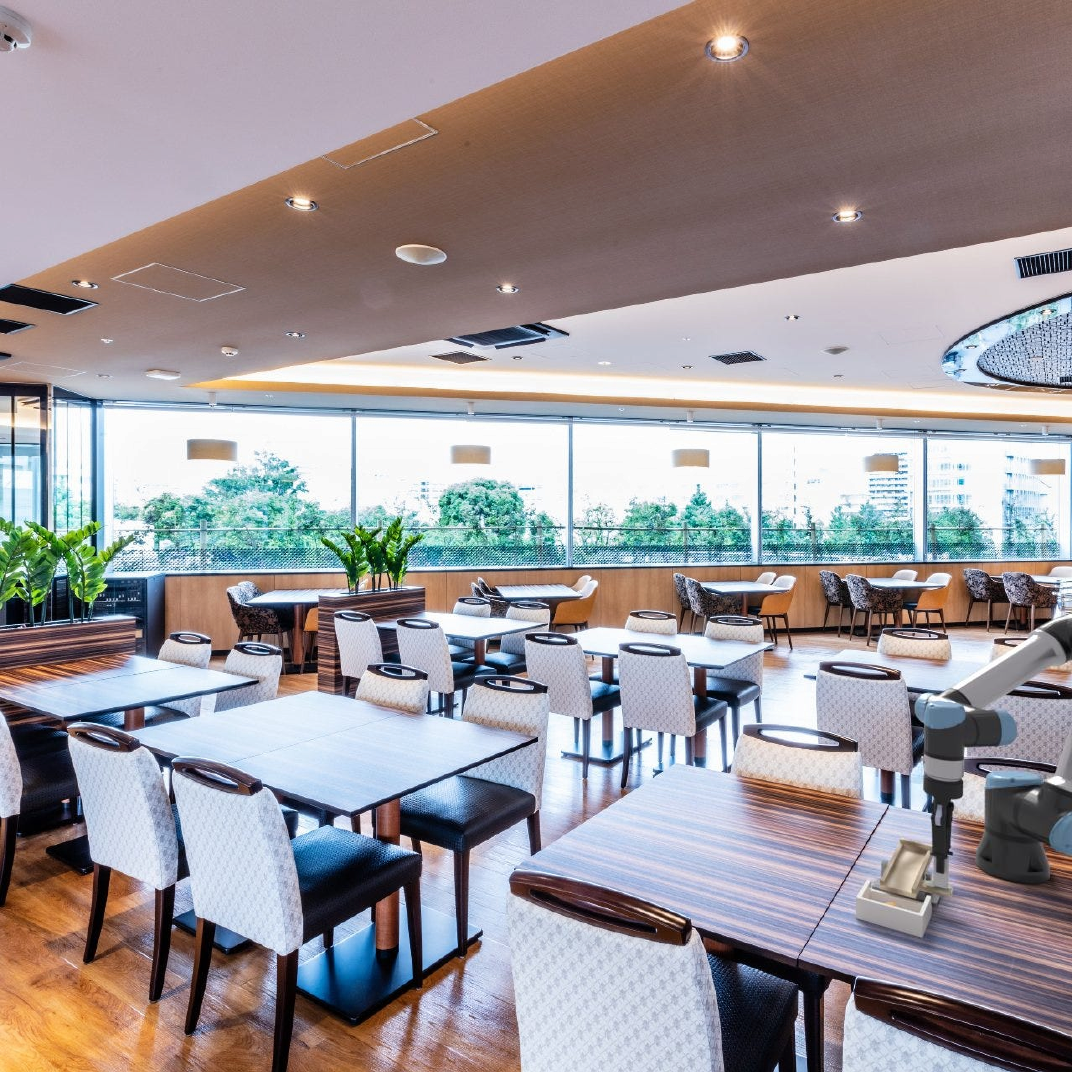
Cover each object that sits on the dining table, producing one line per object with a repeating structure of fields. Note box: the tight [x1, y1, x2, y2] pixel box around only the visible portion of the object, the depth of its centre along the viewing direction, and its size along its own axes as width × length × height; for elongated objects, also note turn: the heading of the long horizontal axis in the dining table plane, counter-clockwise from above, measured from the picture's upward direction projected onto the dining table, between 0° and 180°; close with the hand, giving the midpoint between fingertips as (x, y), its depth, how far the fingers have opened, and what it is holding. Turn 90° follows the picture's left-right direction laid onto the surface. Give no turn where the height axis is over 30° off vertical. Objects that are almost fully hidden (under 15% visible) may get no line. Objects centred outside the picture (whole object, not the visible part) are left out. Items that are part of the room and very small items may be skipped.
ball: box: [885, 902, 898, 907], centre depth 159 cm, size 4×4×4 cm
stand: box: [871, 859, 941, 907], centre depth 171 cm, size 13×5×6 cm, turn 54°
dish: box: [855, 878, 933, 939], centre depth 161 cm, size 13×11×4 cm
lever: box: [880, 837, 954, 899], centre depth 170 cm, size 13×21×3 cm, turn 144°
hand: (940, 885), depth 163 cm, fingers closed
